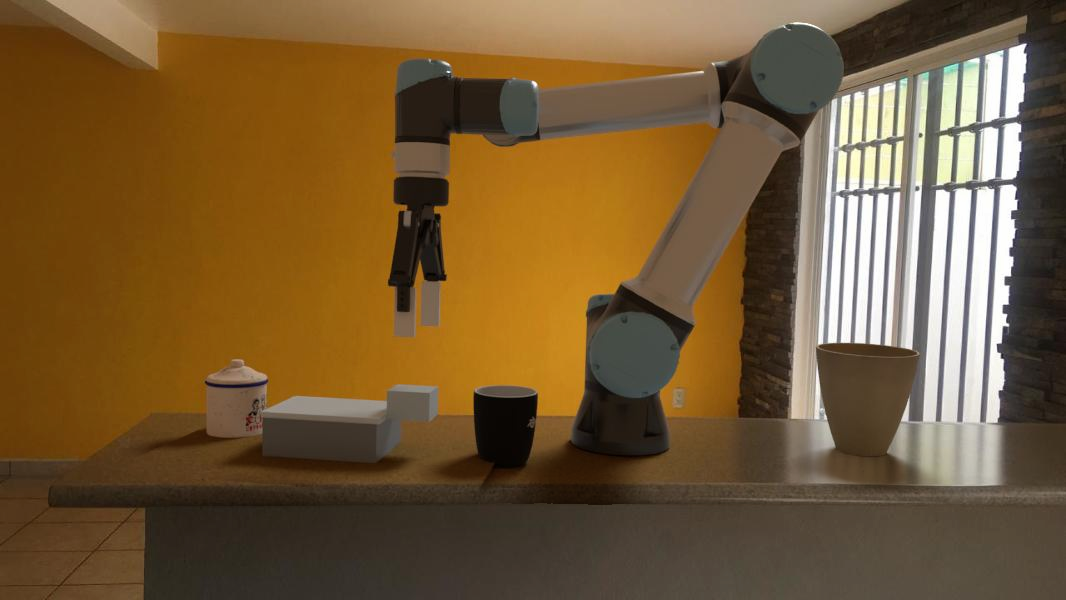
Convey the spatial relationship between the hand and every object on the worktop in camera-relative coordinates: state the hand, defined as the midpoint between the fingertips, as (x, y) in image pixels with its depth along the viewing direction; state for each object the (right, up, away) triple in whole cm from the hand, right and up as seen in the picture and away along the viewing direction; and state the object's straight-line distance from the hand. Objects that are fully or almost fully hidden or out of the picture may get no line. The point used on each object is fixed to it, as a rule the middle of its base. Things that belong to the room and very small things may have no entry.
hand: (418, 331), depth 120 cm
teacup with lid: (-29, -16, +13) cm, 36 cm away
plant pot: (+67, -19, +14) cm, 71 cm away
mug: (+12, -19, +3) cm, 22 cm away
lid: (-9, -12, +2) cm, 16 cm away
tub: (-12, -18, +3) cm, 22 cm away
